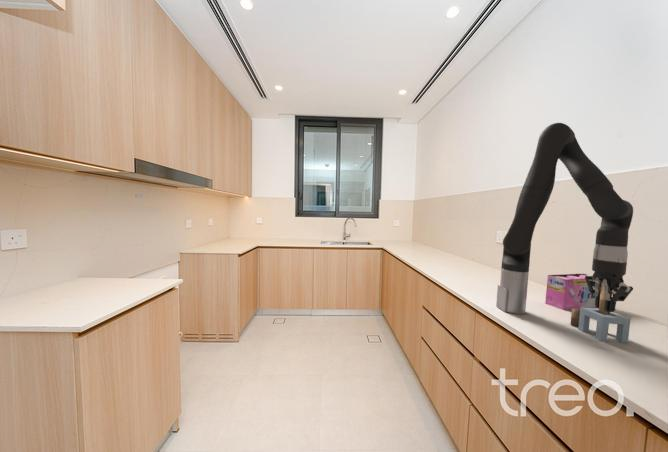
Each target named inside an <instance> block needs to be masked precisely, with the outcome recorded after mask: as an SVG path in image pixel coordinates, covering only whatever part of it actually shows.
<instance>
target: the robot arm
mask: <svg viewBox="0 0 668 452" xmlns="http://www.w3.org/2000/svg"><path fill="white" fill-rule="evenodd" d="M558 160H559V161H560V162H561V163H562V164H563V165H564V167H565V168H566V169H567V171H568V173H569V174H570V177H572V179H573V181H574V182H575V184H576V185H577V187H578V188H579V189H580V191H582V194H584V195H585V197H586V198H587V200H588V202H589V204H590V205H591V207H592V210H594V212H595V213H596V214H597V216H599V217H601V222H600V227H599V228H598V229H597V231H596V235H595V245H594V248H593V255H592V267H591V270H592V271H593V274H592V275H588V276H585V279H586V282H587V285H588V288H589V291H590V293H593V294H594V295H595V296H596V297H595V306H596V307H595V308H598V309H599V302H600V291H601V283H602V282H603V284H604V292H605V293H606V299H607V300H606V301H605V311H607V312H614V313H615V311H616V305H617V303H618V302H624V301H625V300H626V299H627V298H628V297H629V295H630V294H631V293H632V292H633V290H634V287H633V286H631V285H630V286H629V285H627V284H626V283H625V281H624V278H623V277H624V276H625V275H626V274H627V273H626V272H627V265H628V254H629V253H628V252H629V251H628V244H629V231H630V227H631V224H632V220H633V215H634V207H633V205H632V204H631V202H630V201H628V200H625V199H623V198H622V197H621V196H620V195H619V194H618V193H617V192H616V191H615V189H614V185H613V184H612V182H611V180H610V179H609V178H608V177H607V176H606V175H605V174H604V172H603V171H602V170H601V169H600V168H599V167H598V165H596V164H595V163H594V162H593V161H592V160H591V159H590V158H589V157H588V156H587V154H586V153H585V152H584V151H583V149H582V148H581V146H580V144H579V141H578V139H577V137H576V134H575V132H574V130H573V129H572V128H571V127H570V126H569V125H567V124H566V123H564V122H555V123H552V124H549V125H548V126H546V127H545V128H544V129H543V130H542V132H540V134H539V137H538V139H537V145H536V150H535V154H534V157H533V160H532V163H531V166H530V168H529V170H528V172H527V176H526V178H525V181H524V183H523V186H522V188H521V191H520V194H519V197H518V201H517V204H516V207H515V208H516V209H515V213H514V218H513V220H512V222H511V225H510V226H509V229H508V230H507V233H506V235H504V237H503V239H502V245H503V246H502V247H503V250H502V251H503V252H502V260H501V266H500V267H501V270H500V282H499V284H497V289H496V290H497V291H496V305H495V307H497V308H498V309H500V310H501V311H503V312H505V313H510V314H515V315H516V314H517V315H523V314H525V315H526V309H527V299H528V298H527V296H528V283H529V272H530V261H531V259H530V258H531V251H532V250H531V248H532V239H533V235H534V231H535V228H536V225H537V222H538V221H539V219H540V217H541V215H542V214H543V212H544V211H545V208H546V207H547V205H548V203H549V201H550V197H551V194H552V191H553V189H554V186H555V183H556V181H555V180H556V172H557V165H558ZM593 287H594V289H595V290H594V289H593ZM610 290H612V291H610ZM611 294H612V297H611Z"/></svg>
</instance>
